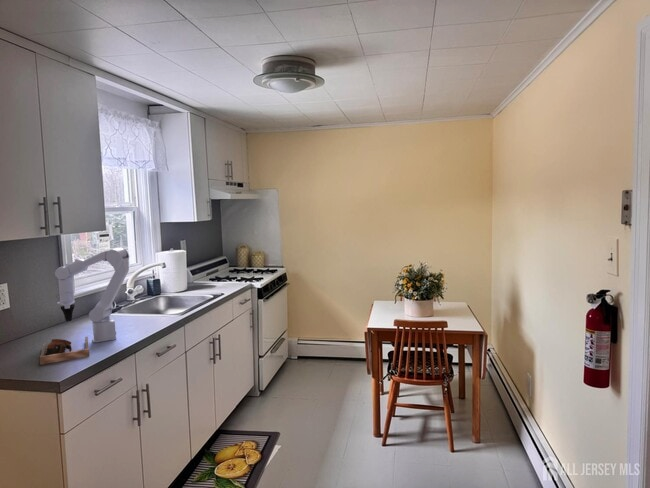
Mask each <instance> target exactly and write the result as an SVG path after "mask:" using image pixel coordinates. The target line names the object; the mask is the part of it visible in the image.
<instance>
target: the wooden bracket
mask: <svg viewBox="0 0 650 488" xmlns="http://www.w3.org/2000/svg"><path fill="white" fill-rule="evenodd" d="M84 341H85V349H84V348H83V349H78V350H72V351H71V352H69V351H65V353H59V354H53V355H47V356H45V353H46V352H47V346H48V345H47V342H44V343H43V344H42V349H41V353H40V356H39V365H47V364H53V363H58V362H64V361H70V360H69V359H71V360H75V359H74V358H76V359H81V357H82V358H87V356H88V357H90V349H89V339H88V336H85V337H84Z"/></svg>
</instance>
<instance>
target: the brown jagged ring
mask: <svg viewBox="0 0 650 488" xmlns="http://www.w3.org/2000/svg"><path fill="white" fill-rule="evenodd" d="M71 344H72V341H69V340H67V339H62V338H61V339H60V338H53V339H51V342H49V343H48V344H47V345H46V346H47V349H46V353H45V356H47V355H53V354H59V353H65V352H66V350H69V351H68V352H71V351H73V349H72V348H73V347H72V345H71Z"/></svg>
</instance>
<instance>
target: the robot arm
mask: <svg viewBox="0 0 650 488" xmlns="http://www.w3.org/2000/svg"><path fill="white" fill-rule="evenodd" d="M129 259H130V254H129V252H128V250H127V249H126V248H124V247H117V248H113V249H112V248H111V249H108V250H104V251H101V252H99V253H97V254H95V255H93V256H91V257H89V258H86V259H82V258H76V259H74V261H72V262H71V263H65V266H60V267H59V266H58V268H56V269H55V272H54V275H55V277H56V278H57V280H58V292H59V293H58V294H59V301H58V302H56V304H57V305H61V306H60V310H61V311H62V312H63V315H64V319H65V322H72V320H73V312H74V309H75V307H76V306H75V305H76V304H74V303H76V300H75V293H74V276H76V275H79V274H80V273H83V272H85V271H87V270H88V269H89V267H90V266H93V265H94V264H96V263H99V262H108V263H109V264H110V265H111V266H112V268H113V269H114V272H113V275H112V277H111V278H110V280H109V282H108V284H107V286H106V288H105V290H104V293H103V294H102V296H101V298H100V300H99V301H98V302H97V303H96V305H95V306H94V307H93V309H91V310H90V311H89V313H88V318H89V320H90V321H91V322H92V323H91V324H92V334H93V337H92V343H94V344H95V343H100V342H108V341H113V340H116V339H117V336H116V335H117V330H116V324H115V323H116V321H115V319H114V318H113V319H110V318H111V317H110V316H111V315H112V311H113V307H114V305H113V302H114V300H115V298H116V296H117V294H118V293H119V290H120V289H121V287H122V284H123V283H124V281H125V279H126V277H127V275H128V274H129V270H130V266H129V265H130V264H129Z"/></svg>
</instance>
